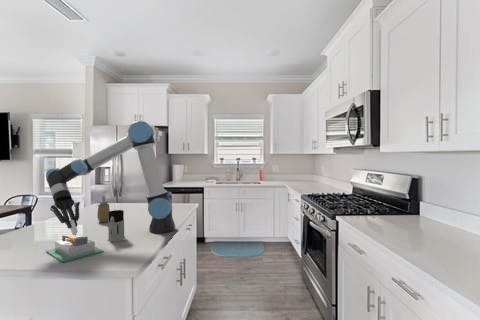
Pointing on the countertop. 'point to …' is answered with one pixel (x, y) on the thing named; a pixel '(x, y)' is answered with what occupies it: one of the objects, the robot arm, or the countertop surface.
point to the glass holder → (116, 225)
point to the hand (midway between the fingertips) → (75, 232)
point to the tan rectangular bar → (72, 237)
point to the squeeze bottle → (103, 210)
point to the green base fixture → (73, 249)
